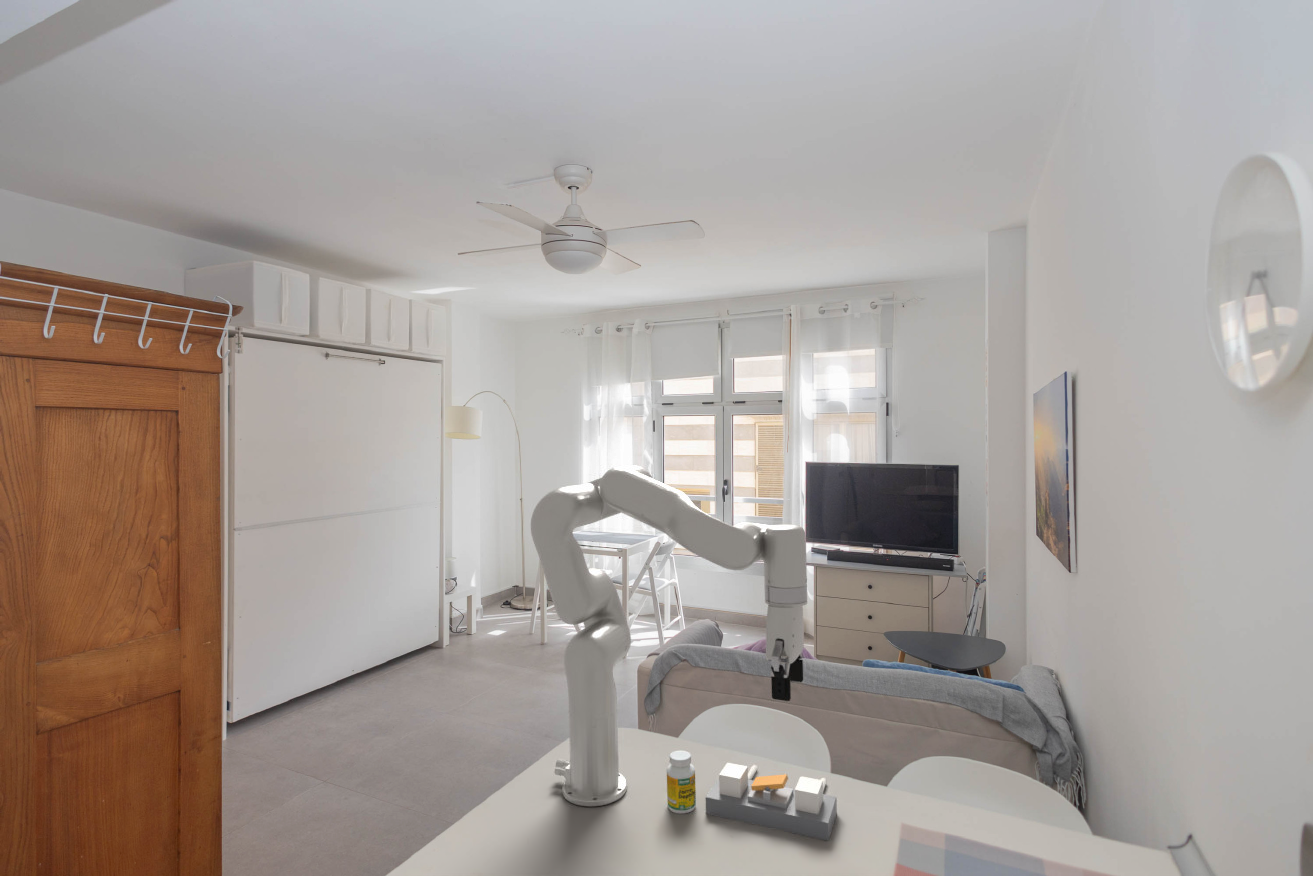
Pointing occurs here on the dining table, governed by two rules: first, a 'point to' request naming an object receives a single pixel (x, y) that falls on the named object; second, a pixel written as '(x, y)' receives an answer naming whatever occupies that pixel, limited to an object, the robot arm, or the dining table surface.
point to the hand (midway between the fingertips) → (788, 689)
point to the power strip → (773, 803)
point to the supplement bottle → (681, 783)
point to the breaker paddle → (769, 782)
